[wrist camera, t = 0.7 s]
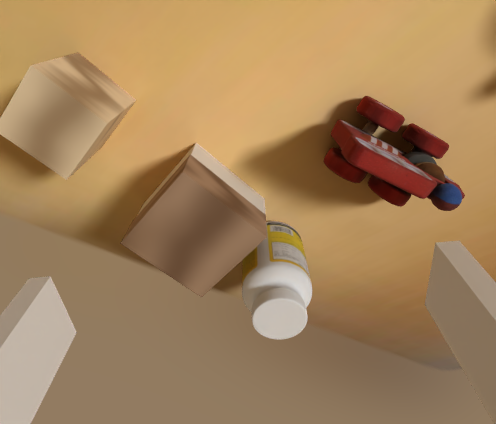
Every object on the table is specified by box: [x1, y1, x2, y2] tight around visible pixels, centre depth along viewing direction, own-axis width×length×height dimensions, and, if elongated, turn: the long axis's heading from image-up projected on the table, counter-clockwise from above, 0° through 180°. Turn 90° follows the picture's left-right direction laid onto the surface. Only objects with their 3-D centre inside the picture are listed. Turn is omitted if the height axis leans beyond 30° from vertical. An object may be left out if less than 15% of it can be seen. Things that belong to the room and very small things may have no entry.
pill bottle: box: [242, 221, 312, 339], centre depth 37 cm, size 6×6×12 cm
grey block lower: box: [136, 143, 266, 217], centre depth 38 cm, size 9×9×4 cm
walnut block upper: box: [120, 154, 267, 297], centre depth 34 cm, size 9×9×4 cm
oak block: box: [0, 53, 136, 180], centre depth 31 cm, size 6×6×8 cm
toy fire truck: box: [324, 96, 465, 211], centre depth 32 cm, size 7×12×10 cm, turn 62°
